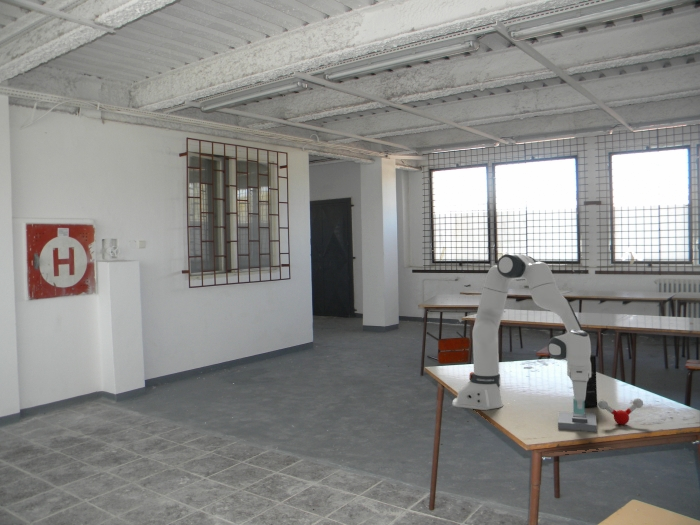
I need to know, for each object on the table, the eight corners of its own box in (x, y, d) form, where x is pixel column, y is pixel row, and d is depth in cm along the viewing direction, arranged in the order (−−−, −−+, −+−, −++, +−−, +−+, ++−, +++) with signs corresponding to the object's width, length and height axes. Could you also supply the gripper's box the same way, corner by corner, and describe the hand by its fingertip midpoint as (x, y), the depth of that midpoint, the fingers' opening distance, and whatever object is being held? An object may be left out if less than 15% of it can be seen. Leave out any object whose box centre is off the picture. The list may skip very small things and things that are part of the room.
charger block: (573, 413, 230) (573, 398, 230) (573, 410, 234) (573, 395, 234) (584, 414, 229) (584, 398, 228) (584, 411, 233) (584, 396, 232)
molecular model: (640, 421, 236) (639, 397, 235) (647, 426, 230) (646, 400, 230) (596, 422, 236) (595, 398, 236) (601, 427, 230) (601, 401, 230)
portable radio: (583, 408, 256) (582, 351, 255) (574, 405, 261) (573, 349, 261) (598, 407, 258) (597, 350, 257) (589, 403, 264) (588, 348, 263)
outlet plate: (558, 428, 230) (557, 421, 230) (559, 417, 245) (558, 410, 245) (596, 431, 225) (596, 424, 225) (595, 419, 240) (595, 413, 240)
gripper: (570, 365, 241) (571, 399, 242) (570, 376, 222) (571, 413, 223) (587, 366, 239) (587, 400, 240) (588, 377, 220) (589, 414, 221)
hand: (579, 406), depth 231 cm, fingers closed on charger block, 4 cm apart
